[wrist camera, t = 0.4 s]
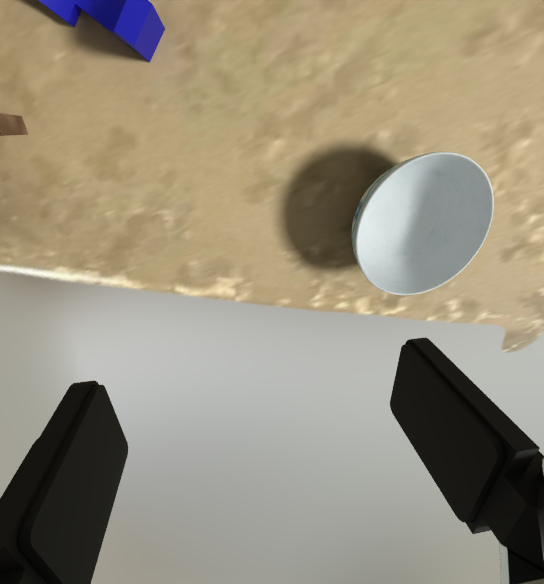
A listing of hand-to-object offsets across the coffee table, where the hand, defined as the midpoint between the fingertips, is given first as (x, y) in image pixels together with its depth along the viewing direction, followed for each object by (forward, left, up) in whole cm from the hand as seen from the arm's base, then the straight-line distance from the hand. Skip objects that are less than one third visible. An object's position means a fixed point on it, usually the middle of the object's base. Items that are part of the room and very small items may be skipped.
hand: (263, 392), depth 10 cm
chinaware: (+2, +20, -29) cm, 35 cm away
